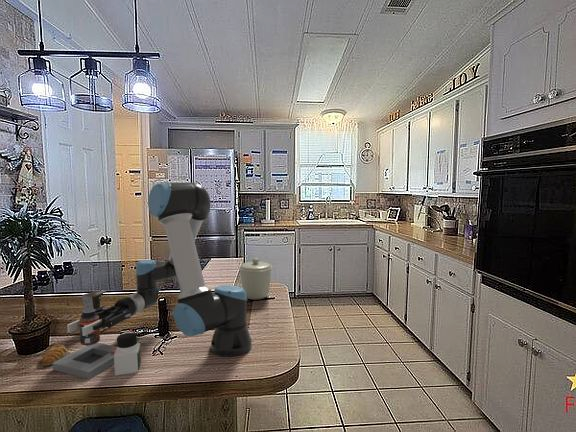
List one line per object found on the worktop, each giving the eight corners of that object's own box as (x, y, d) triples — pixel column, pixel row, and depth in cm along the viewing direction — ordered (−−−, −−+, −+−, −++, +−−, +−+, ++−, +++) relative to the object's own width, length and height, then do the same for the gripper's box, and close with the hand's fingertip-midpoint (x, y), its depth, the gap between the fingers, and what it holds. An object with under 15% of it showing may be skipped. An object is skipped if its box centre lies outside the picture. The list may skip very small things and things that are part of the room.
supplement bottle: (91, 347, 116) (89, 314, 115) (76, 345, 118) (74, 313, 116) (104, 339, 122) (102, 308, 121) (89, 337, 123) (87, 306, 122)
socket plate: (128, 355, 125) (127, 346, 125) (89, 379, 110) (88, 369, 110) (94, 348, 130) (93, 339, 130) (53, 370, 115) (52, 360, 115)
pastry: (58, 366, 118) (57, 355, 118) (35, 368, 117) (34, 357, 116) (69, 352, 127) (68, 342, 127) (48, 354, 126) (48, 344, 125)
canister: (272, 302, 179) (272, 262, 177) (237, 302, 179) (236, 262, 177) (273, 291, 197) (273, 254, 195) (241, 291, 197) (240, 254, 195)
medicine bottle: (138, 372, 114) (137, 337, 113) (114, 376, 112) (112, 340, 111) (141, 362, 121) (139, 328, 119) (118, 365, 119) (116, 331, 117)
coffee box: (96, 335, 141) (94, 296, 140) (83, 333, 143) (81, 295, 141) (113, 326, 150) (111, 289, 148) (101, 324, 152) (99, 288, 150)
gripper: (149, 318, 133) (98, 346, 112) (110, 311, 140) (55, 336, 118) (148, 299, 132) (97, 323, 111) (109, 293, 139) (54, 315, 117)
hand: (75, 330), depth 114 cm, fingers closed on supplement bottle, 6 cm apart
